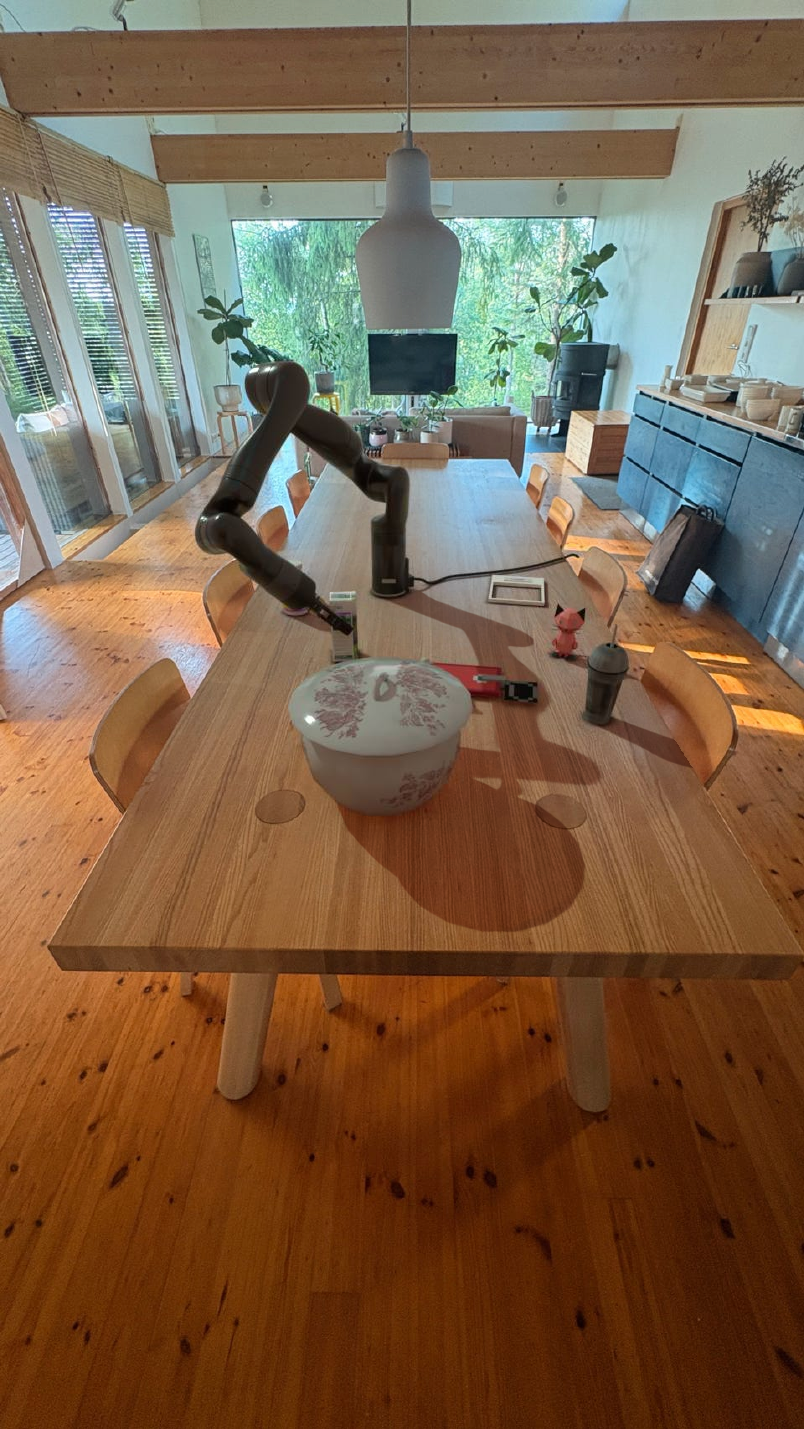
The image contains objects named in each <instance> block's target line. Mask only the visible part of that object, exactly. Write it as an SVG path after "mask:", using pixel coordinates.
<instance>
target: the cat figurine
mask: <svg viewBox="0 0 804 1429" xmlns="http://www.w3.org/2000/svg"><path fill="white" fill-rule="evenodd" d="M586 608H587V607H584V608H581V609H580V610H577V609H573V608H566V609H564V608H563V607H562V606H561V605H560V604H559V603H557V605H556V609H555V613H554V617H553V620H554V622H555V624H553V623H551V625H553V626H554V627H556V629H554V628H551V630H552V631H558V630H559V632H558V633H557V635H556V637H554V638H552V642H551V645H552V646H553V647H555V650H554V651H553V652H552V653H551V656H552V657H553V658H561V657H562V656H563V655H564V658H565V659H566V660H568V661H573V660H574V659H575V656H574V655H573V651H574V650H576V649H578V648H579V643H578V642H577V640H576V634H577V635H581V632H580V633H579V632H577V631H580V630H582V627H583V625H584V624H585V621H586ZM564 653H565V654H564Z"/></svg>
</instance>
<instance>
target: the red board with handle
mask: <svg viewBox="0 0 804 1429" xmlns="http://www.w3.org/2000/svg"><path fill="white" fill-rule="evenodd" d="M431 662H432V661H431ZM432 663H433V664H434V666H436V667H439V668H442V669H443V670H445V671H446V672H448V673H450V674H451V675H453V676H454V677H456V678H458V679H459V680H460V681H461V683H462V684H463V685H464V686H465V688H466V689H467V690H468V691H469V693H470V694H471V696H476V697H490V698H500V693H501V692H500V691H501V689H504V690H503V692H504V693H503V701H507V702H520V703H531V704H538V702H539V698H538V696H539V693H538V682H537V681H523V680H510V679H506V677H507V676H506V675H502V670H503V669H502V667H501V666H489V665H488V666H487V665H475V664H459V663H446V662H445V663H444V662H432Z"/></svg>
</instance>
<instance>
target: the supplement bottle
mask: <svg viewBox="0 0 804 1429" xmlns="http://www.w3.org/2000/svg"><path fill="white" fill-rule="evenodd" d="M288 561H289V562H290V563H292V564H293V565H294V566H296V567H297V568H298V569H300V570H301V571H302V572H303V573H305V574H306V575H307V573H306V572H305V571H303V570H302V569H303V562H302V561H301V560H298V559H289V560H288ZM282 608H283V612H284V613H285V614H286V615H288V616H294V617H295V616H296V617H297V616H303V615H306V614H307V613H309V612H308V611H307V609H305V608H303V609H301V610H299V611H293V610H291V609H290V608H288V607H287V606H286V605H284V604H283V603H282Z"/></svg>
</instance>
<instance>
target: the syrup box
mask: <svg viewBox="0 0 804 1429" xmlns="http://www.w3.org/2000/svg"><path fill="white" fill-rule="evenodd" d="M356 594H357V593H356V590H353V591H330V592H329V601H328V602H329V603H328V605H329V606H330V607H332V608H333V609H334V612H335V614H337V615H338V616H339V617H342V619H343V620H344V621H345V622H346V623H348V624H349V625H350V626H352V627H353V631H352V632H351V633H350V634H349V635H348V636H346V635H345V634H344V633H342V632H341V631H339V630H335V629H334V628H333V627H332V626H331V625H330V631H331V648H332V650H331V652H332V662H333V663H336V662H344V661H348V660H355V659H359V641H358V640H359V637H358V611H357V608H358V607H357V595H356ZM335 620H336V618H335V619H334V620H333V622H334V621H335ZM333 622H332V623H333Z"/></svg>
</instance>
